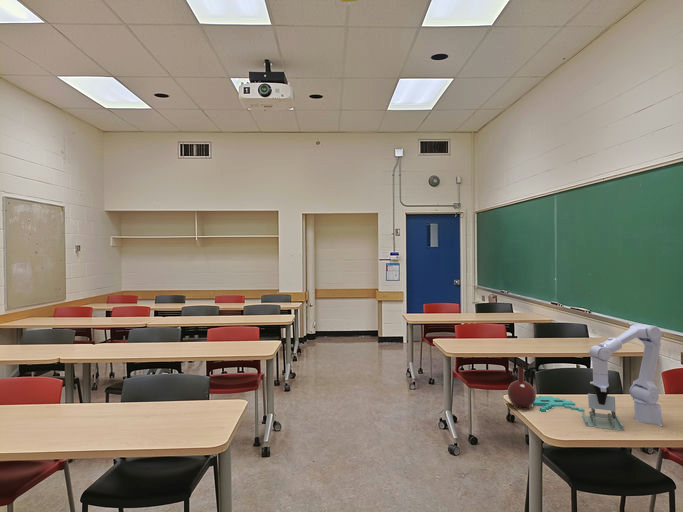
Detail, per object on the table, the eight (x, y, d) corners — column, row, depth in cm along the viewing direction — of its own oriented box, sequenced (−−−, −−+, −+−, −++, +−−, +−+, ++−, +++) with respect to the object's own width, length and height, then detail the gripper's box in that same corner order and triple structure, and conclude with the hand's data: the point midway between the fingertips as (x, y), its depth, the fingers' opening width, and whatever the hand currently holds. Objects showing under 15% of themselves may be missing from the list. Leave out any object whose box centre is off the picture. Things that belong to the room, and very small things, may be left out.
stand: (616, 417, 184) (615, 408, 184) (618, 421, 179) (618, 413, 179) (588, 413, 189) (588, 405, 189) (590, 418, 183) (590, 409, 183)
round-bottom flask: (515, 412, 192) (514, 370, 193) (503, 402, 205) (502, 364, 206) (541, 411, 193) (540, 370, 194) (527, 402, 206) (526, 364, 207)
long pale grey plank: (614, 410, 174) (614, 396, 174) (615, 411, 172) (615, 397, 173) (588, 406, 178) (588, 393, 178) (588, 407, 177) (588, 394, 177)
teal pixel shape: (584, 414, 189) (565, 400, 209) (584, 409, 189) (565, 396, 209) (541, 413, 191) (526, 400, 211) (541, 408, 191) (526, 395, 211)
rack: (618, 422, 178) (617, 413, 178) (624, 433, 166) (624, 423, 166) (582, 417, 184) (581, 409, 184) (586, 427, 172) (585, 418, 172)
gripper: (587, 368, 184) (588, 397, 184) (592, 376, 171) (593, 407, 170) (605, 370, 181) (606, 399, 181) (611, 377, 168) (612, 409, 167)
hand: (601, 403), depth 175 cm, fingers closed on long pale grey plank, 1 cm apart
